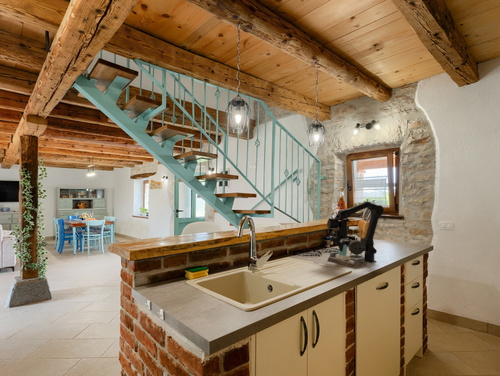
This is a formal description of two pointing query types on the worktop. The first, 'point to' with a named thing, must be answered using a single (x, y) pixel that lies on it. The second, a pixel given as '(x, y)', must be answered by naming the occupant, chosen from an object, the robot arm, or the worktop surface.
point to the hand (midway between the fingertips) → (342, 251)
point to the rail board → (347, 261)
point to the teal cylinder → (343, 254)
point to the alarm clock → (355, 247)
